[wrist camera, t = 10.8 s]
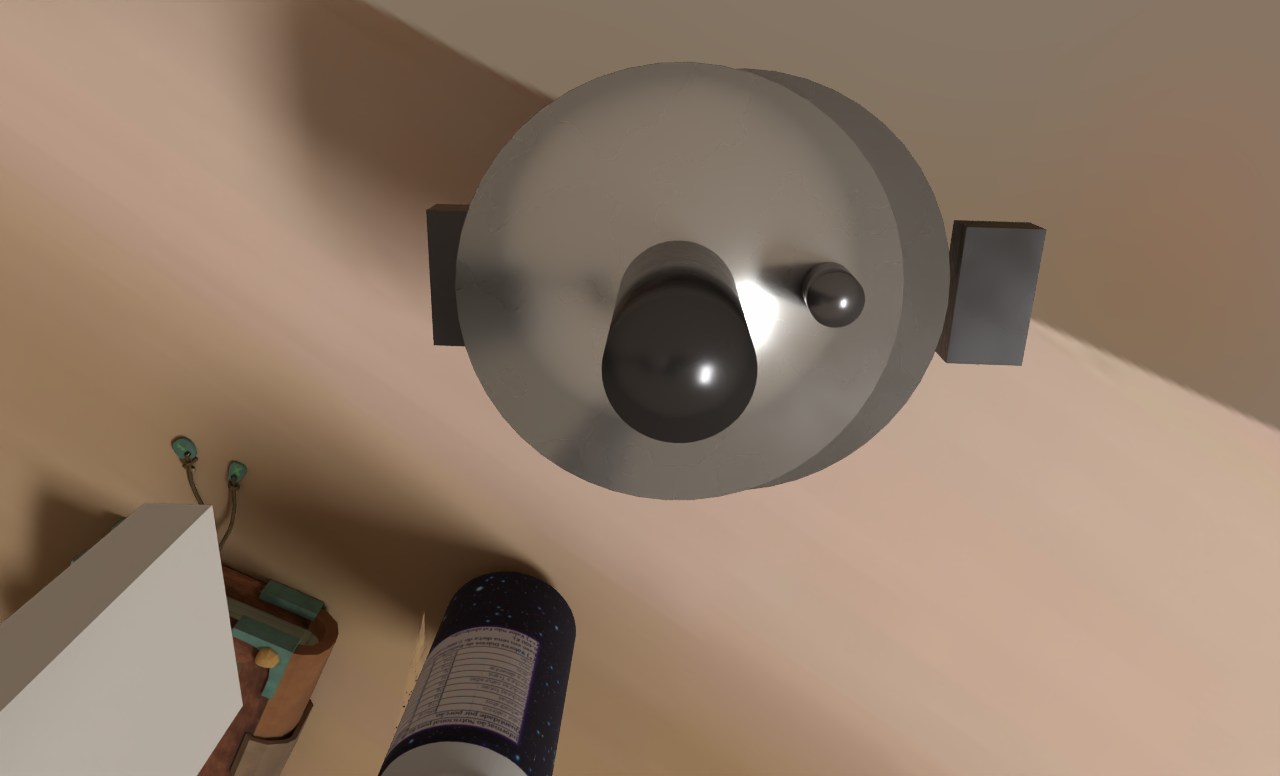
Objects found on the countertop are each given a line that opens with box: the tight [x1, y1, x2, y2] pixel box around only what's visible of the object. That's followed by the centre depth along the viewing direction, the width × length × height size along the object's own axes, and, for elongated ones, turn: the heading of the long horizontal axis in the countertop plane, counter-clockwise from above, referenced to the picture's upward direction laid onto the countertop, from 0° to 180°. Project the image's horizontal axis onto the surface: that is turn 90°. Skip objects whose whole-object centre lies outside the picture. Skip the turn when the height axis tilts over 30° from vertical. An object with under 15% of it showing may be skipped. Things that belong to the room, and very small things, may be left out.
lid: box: [455, 62, 904, 500], centre depth 21 cm, size 12×12×7 cm
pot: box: [426, 69, 1046, 490], centre depth 29 cm, size 12×17×9 cm
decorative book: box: [71, 437, 338, 776], centre depth 38 cm, size 13×18×5 cm
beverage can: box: [378, 572, 576, 776], centre depth 34 cm, size 6×6×12 cm
